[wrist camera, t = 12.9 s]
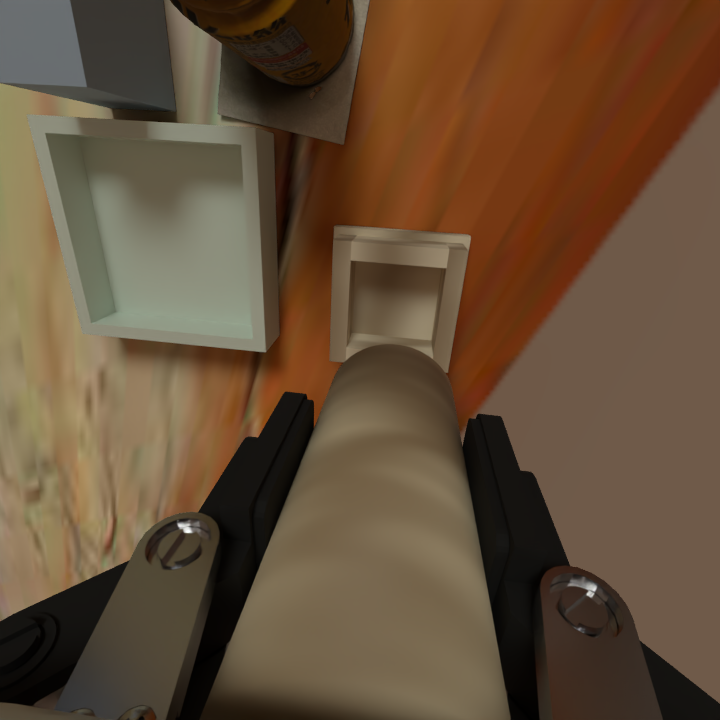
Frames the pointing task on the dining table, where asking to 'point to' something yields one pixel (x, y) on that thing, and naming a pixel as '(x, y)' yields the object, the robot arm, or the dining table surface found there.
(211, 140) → the tray
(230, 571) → the robot arm
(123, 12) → the block
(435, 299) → the socket block
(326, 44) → the condiment
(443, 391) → the dowel
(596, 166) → the dining table surface
